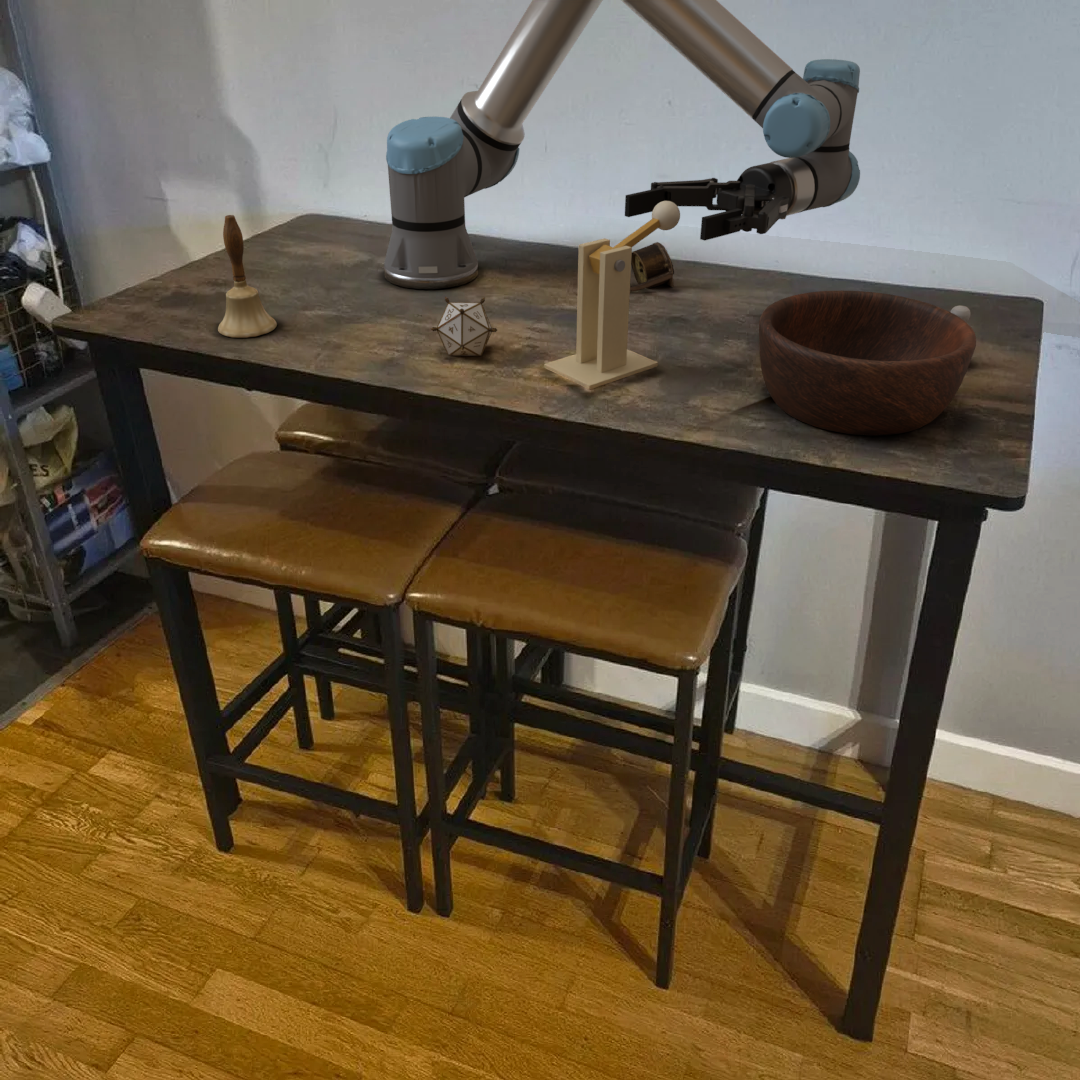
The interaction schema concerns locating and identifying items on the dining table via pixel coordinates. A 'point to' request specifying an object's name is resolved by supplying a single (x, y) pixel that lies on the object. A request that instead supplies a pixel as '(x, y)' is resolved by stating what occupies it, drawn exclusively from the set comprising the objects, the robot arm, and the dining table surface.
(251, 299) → the hand bell
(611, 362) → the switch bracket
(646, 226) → the lever
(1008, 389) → the dining table surface
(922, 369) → the wooden bowl
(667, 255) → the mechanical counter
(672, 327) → the dining table surface
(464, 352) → the game die
